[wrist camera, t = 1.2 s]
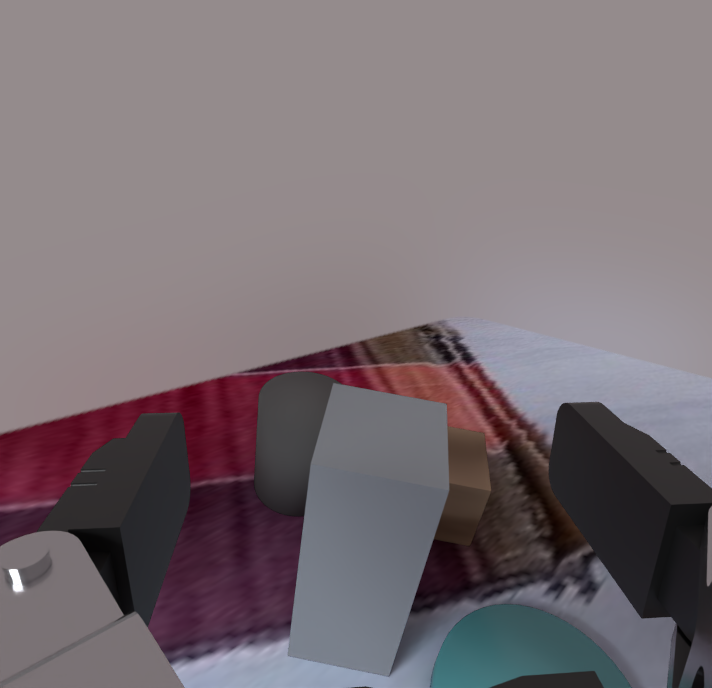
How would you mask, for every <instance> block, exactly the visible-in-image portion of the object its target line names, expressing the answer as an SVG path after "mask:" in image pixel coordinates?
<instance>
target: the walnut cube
mask: <svg viewBox="0 0 712 688" xmlns="http://www.w3.org/2000/svg"><path fill="white" fill-rule="evenodd" d="M447 432H448V465H449V493H448V496H447V499H446V502H445V505H444V508H443V511H442V514H441V517H440V521H439V524H438V527H437V530H436V533H435V536H434V539H435V540H440V541H445V542H450V543H456V544H461V545H466V546H470V545H471V542H472V540H473V537H474V534H475V532H476V529H477V527H478V524H479V521H480V519H481V516H482V514H483V511H484V508H485V506H486V503H487V501H488V498H489V495H490V493H491V485H490V477H489V468H488V460H487V452H486V444H485V435H484V433H481V432H475V431H470V430H464V429H459V428H454V427H448V426H447Z"/></svg>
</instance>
